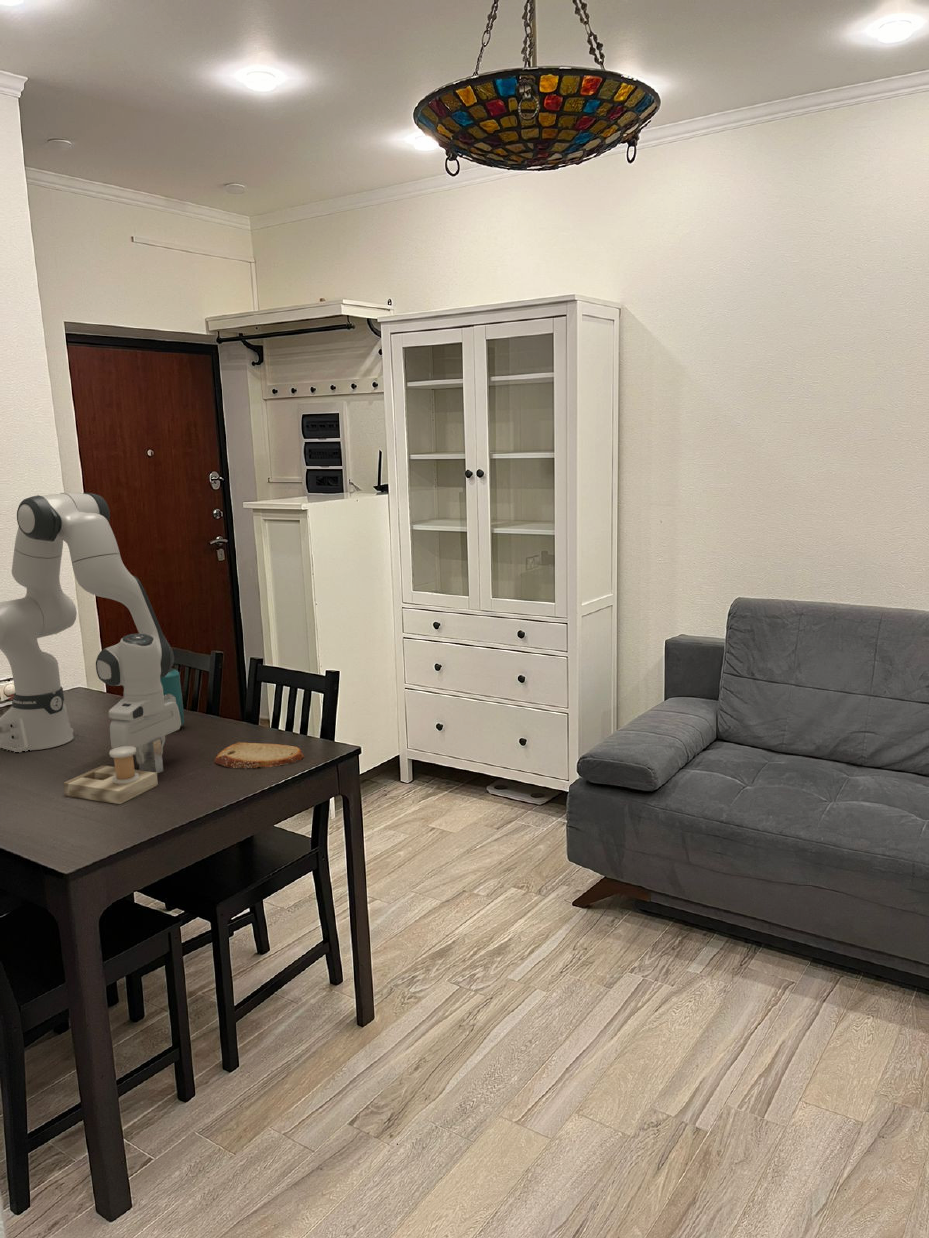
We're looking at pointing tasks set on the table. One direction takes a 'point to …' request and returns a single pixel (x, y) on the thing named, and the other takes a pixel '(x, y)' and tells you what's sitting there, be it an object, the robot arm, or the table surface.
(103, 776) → the slot board
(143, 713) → the robot arm
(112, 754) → the bobbin
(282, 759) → the slice of bread
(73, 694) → the table surface
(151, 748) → the metal tab
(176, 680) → the beverage bottle
